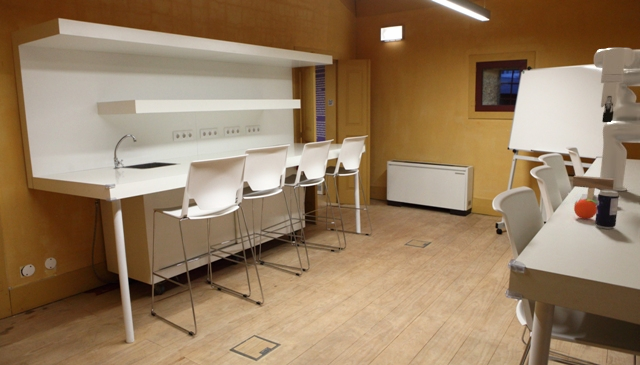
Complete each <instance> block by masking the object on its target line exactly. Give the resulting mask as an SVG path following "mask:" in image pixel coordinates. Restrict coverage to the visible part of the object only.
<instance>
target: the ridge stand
mask: <svg viewBox="0 0 640 365" xmlns="http://www.w3.org/2000/svg"><path fill="white" fill-rule="evenodd" d="M595 189H596V188H587V193H582V194H581V196H580V199H579V200H578V201H580V200H582V199H588V200H593V202H594V201H595V202H594V203H595V205H596V207H597V203H596V202H598V194H595V191H596V190H595Z"/></svg>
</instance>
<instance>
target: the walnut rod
mask: <svg viewBox="0 0 640 365" xmlns="http://www.w3.org/2000/svg"><path fill="white" fill-rule="evenodd" d="M613 184H614V179H613V178H600V176H599V177H597V176H584V175H574V176H573V179H572V187H578V188H586V189H588V188H595V189H598V190H603V189H608V190H613Z"/></svg>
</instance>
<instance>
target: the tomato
mask: <svg viewBox="0 0 640 365" xmlns="http://www.w3.org/2000/svg"><path fill="white" fill-rule="evenodd" d="M579 200H580V199H579ZM579 200H578V201H577V202H575V205H574V206H573V210H574V213H575V214H576V216H577V217H578V218H580V219H583V220H589V219H591V218H593V217H594V216H596V211H597V206H596V205H595V203H594V202H595V201H594V202H593V200H588V199H582V200H580V201H579ZM596 203H597V202H596Z"/></svg>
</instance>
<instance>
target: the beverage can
mask: <svg viewBox="0 0 640 365" xmlns="http://www.w3.org/2000/svg"><path fill="white" fill-rule="evenodd" d="M597 195H598V202H597V206H596V207H597V211H596V214H595V222H594V224H595V225H596V226H597V227H598V228H600V229H604V230H610V229H611V230H612V229H613V228H615V227H616V224H617V216H618V205H619V198H620V196H619V191H613V190H603V189H599V192H598V194H597Z"/></svg>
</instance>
